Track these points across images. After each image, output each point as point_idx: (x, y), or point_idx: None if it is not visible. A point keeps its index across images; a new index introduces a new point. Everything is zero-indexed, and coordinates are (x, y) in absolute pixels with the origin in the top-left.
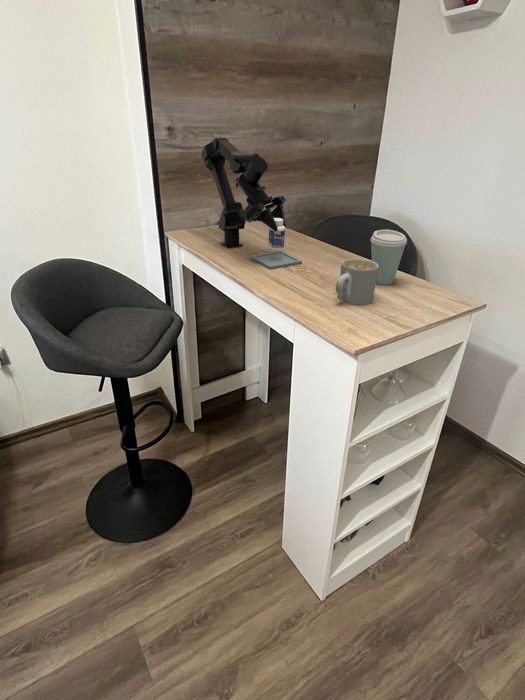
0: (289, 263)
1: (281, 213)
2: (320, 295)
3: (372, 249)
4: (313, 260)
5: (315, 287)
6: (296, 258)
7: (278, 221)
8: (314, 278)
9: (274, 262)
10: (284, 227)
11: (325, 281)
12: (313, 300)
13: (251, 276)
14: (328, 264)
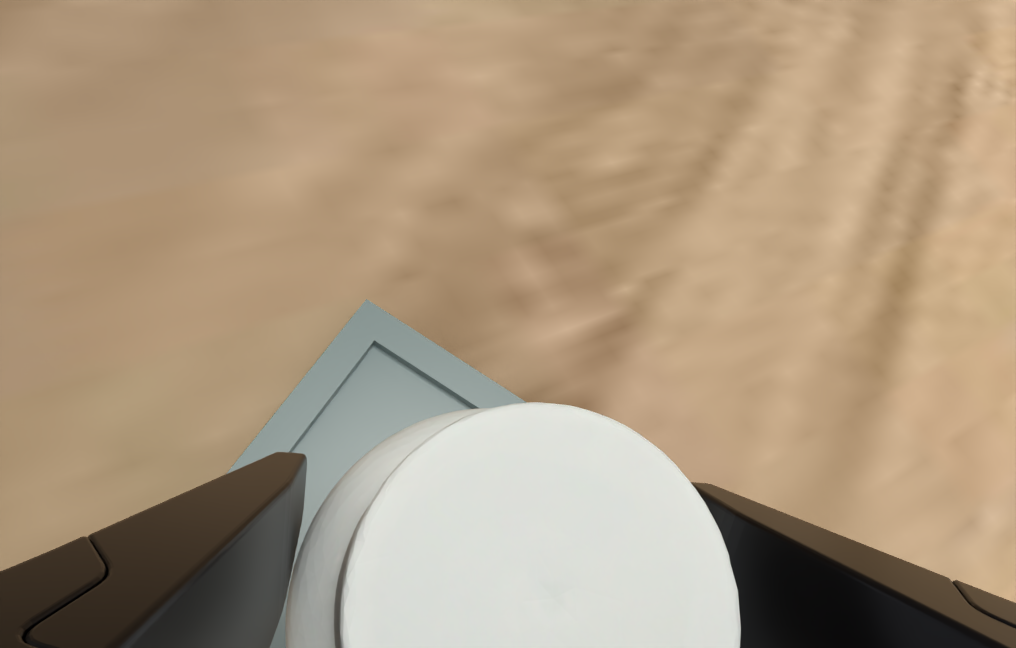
0: (504, 389)
1: (187, 602)
2: (872, 50)
3: None
4: (198, 242)
5: (791, 94)
6: (314, 378)
7: (686, 481)
8: (653, 131)
9: None
10: (461, 413)
11: (659, 60)
12: (951, 69)
13: None
14: (264, 100)
